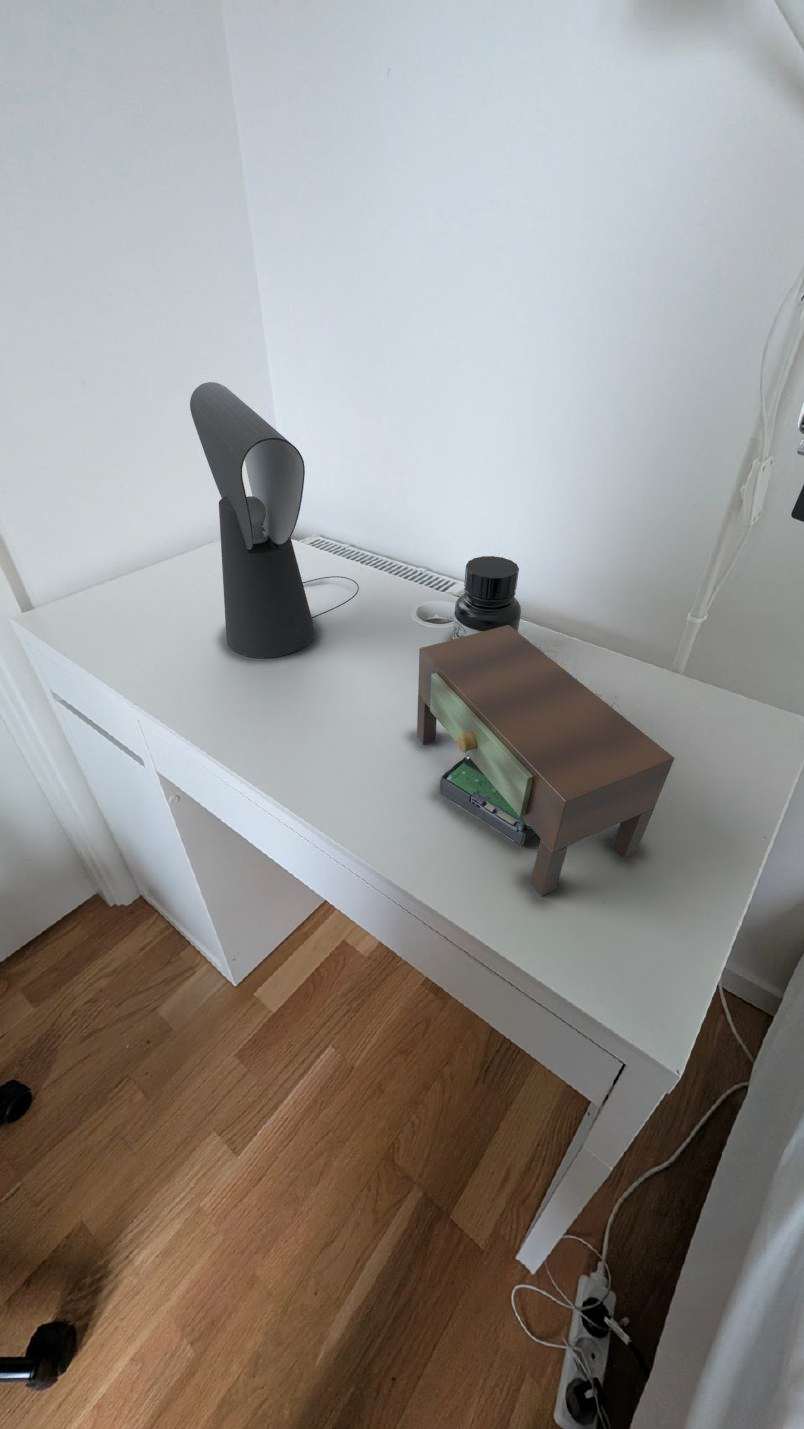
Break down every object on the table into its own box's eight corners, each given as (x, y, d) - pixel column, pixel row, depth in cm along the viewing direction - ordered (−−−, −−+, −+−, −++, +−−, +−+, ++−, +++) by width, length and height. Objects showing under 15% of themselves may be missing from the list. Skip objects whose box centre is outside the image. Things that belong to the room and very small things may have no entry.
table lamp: (124, 605, 91) (52, 389, 72) (265, 550, 108) (236, 364, 89) (292, 707, 71) (253, 445, 52) (433, 621, 87) (443, 398, 69)
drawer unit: (636, 851, 54) (675, 757, 46) (523, 904, 50) (546, 810, 42) (496, 710, 70) (508, 624, 63) (402, 740, 66) (403, 652, 59)
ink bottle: (441, 634, 84) (445, 556, 77) (495, 624, 87) (505, 547, 79) (470, 670, 77) (477, 588, 70) (528, 658, 80) (541, 577, 72)
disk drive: (516, 728, 68) (437, 795, 59) (519, 709, 66) (438, 776, 58) (597, 768, 63) (523, 850, 54) (603, 749, 61) (528, 830, 52)
